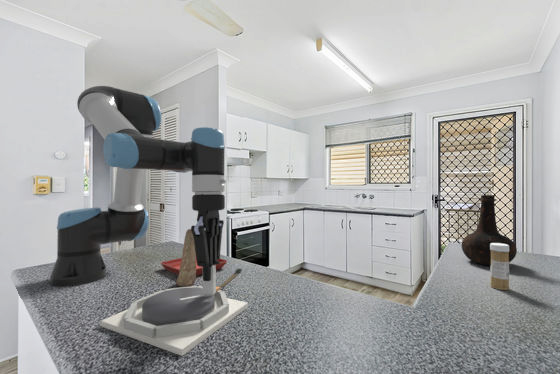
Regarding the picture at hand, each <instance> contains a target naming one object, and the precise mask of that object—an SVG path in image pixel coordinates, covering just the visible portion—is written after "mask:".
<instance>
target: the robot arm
mask: <svg viewBox="0 0 560 374" xmlns="http://www.w3.org/2000/svg"><path fill="white" fill-rule="evenodd" d="M76 105H77V109H78V112H79V113H80V114H81V116H82V118H83V119H84V120H85V121H87V122H88V123H90V124H92V125H93V126H94V128H95V130H97V132H98V133H99V134H100V136H101V137H102V138H103V140H104V141H103V147H102V152H103V157H104V162H105V163H106V165H107V166H109V167H112V168H116V173H115V174H116V175H115V183H114V184H115V185H114V195H113V201H111V202H110V203H109V204H108V205H107V210H102V208H101V207H86V208H79V209H73V210H67V211H64V212H61V213H60V214H59V216H58V217H57V224H56V225H57V226H56V229H57V247H56V248H57V253H56V254H57V257H56V260H55V263H54V266H53V268H52V271H51V273H50V275H49V284H50V285H52V286H54V287H55V286H56V287H67V286H76V285H83V284H87V283H91V282H95V281H98V280H100V279H103V278H104V277H106V276H107V266H106V264H105V261H104V259H103V256H102V254H101V246H102V245H106V244H113V243H121V242H132V241H134V240H139V239H141V238H143V237H144V236H145V235H146V233H147V231H148V229H149V225H150V223H149V222H150V219H149V212H148V211H147V209H145V206H144V205H143V204H142V203H141V199H142V192H143V191H142V189H143V179H144V173H145V170H153V171H154V170H155V171H167V172H168V171H170V172H174V173H183V174H184V173H189V172H191V175H192V178H191V191H192V193H194V195H192V197H191V208H192V211H195V212H197V216H196V217H197V218H196V225H191V228H190V229H191V231H192V234H193V237H194V244H195V252H196V260H197V265H198V266H201V267H203V274H202V286H203V294H215V293H216V286H217V281H216V280H217V276H216V275H217V272H216V271H217V270H216V265H215V264H219V263H220V261H217V259H218V260H219V259H221V248H222V247H221V246H222V237H223V227H224V222H225V221H224V220H221V219H220V212H219V211H222V210H225V208H226V205H225V204H226V203H225V202H226V201H225V200H226V198H225V194H223V193H224V192H225V184H227V179H225V148H226V146H225V138H224V137H225V136H224V132H223V131H222V130H220V129H219V128H215V127H205V126H204V127H195V128H193V130H192V132H191V137H190V140H191V141H186V142H181V141H174V140H167V139H160V138H154V137H153V134H154V133H153V132H155V131H158V130H159V129H160V127H161V124H162V111H161V107H160V106H159V103H158V101H157V100H156V99H155V98H153V97H151V96H148V95H144V94H141V93H137V92H132V91H128V90H124V89H120V88H116V87H113V86H109V85H108V86H107V85H96V86H92V87H89V88H86V89H85V90H83V91H82V92H81V93H80V95H79V96H78V98H77V101H76Z"/></svg>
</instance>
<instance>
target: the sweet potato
mask: <svg viewBox="0 0 560 374" xmlns="http://www.w3.org/2000/svg"><path fill="white" fill-rule="evenodd" d="M183 240H184V241H183V248H182V255H181V258H182V259H181V265H180V270H179V275H177V276H178V277H177V279H176V282H175V284H176V285H177V286H178V287H179V288H181V287H190V286H194V284H195V282H196V279H197V275H196V252H195V244H194V237H193V234H192V231H191V228H189V229H187V230H186V232H185V236H184V239H183Z"/></svg>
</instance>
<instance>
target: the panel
mask: <svg viewBox="0 0 560 374" xmlns="http://www.w3.org/2000/svg"><path fill="white" fill-rule="evenodd" d="M179 288H202V289H203V285H198V286H197V285H191V286H187V287H186V286H184V287H183V286H181V287H173V288H166V289H161V290H159V291H157V292H156V291H155V292H154V293H153V292H152V293H151V294H148V295H146V296H144V297H141V298H139V299H136V300H134V301H133V302H131V303H130V305H129V307H128V309H126V310H123V311H121V312H119V313H116V314H113V315H112V316H109V317H106V318H104V319H102V320H100V327H102V328H104V329H106V330H107V329H108V330H111V331H113V332H115V333H119V334H120V335H124V336H126V337H129V338H132V339H134V340H138V341H140V342H143V343H144V344H145V343H146V344H148V345H151V346H153V347H157V348H159V349H162V350H164V351H168V352H170V353H173V354H176V355H178V356H182V357H183V356H185V354H187V353H189V352H190V351H191V350H192V349H194V348H195V347H197V346H198V345H199V344H201V343H202V342H203V341H205V340H206V339H208V338H209V337H210V336H211V335H213V334H214V333H215V332H217V331H218V330H220V329H221V328H223V327H224V326H225V325H226V324H228V323H229V322H231V321H232V320H233V319H235V318H236V317H237V316H239V315H240V314H241V313H242V312H244V311H245V310H247V309H248V308H249V302H246V301H242V300H237V299H234V298H227V295H226V291H224V290H223V289H222V290H220V289H221V287H219V286H217V285H216V293H215V294H214V295H215V309H214V311H213V312H211V313H209V314H208V315H206V316H205V317H203V318H201V319H200V320H194V321H187V322H181V323H174V324H168V325H161V326H155V325H152V324H149V323H146V322H144V321H143V320H142V305H143V303H144V302H145V301H146V300H147V299H148V298H150V297H152V296H154V295H156V294H158V293H161V292H164V291H168V290H173V289H179Z"/></svg>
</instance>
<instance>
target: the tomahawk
mask: <svg viewBox="0 0 560 374" xmlns="http://www.w3.org/2000/svg"><path fill="white" fill-rule="evenodd" d="M242 271H243V270H242V268H237V269H236V270H235V272H233V274H231V275H230V276H229V277H228V278H227V279H225V280H224V281H223V282H222V284H220V285H219V286H218V287H221V289H220V290H222V291H223V292H226V291H227V290H226V289H225V286H227V285H228V284H229V283H230V282H231V281H233V280H234V279H235V278H236V277H237V276H238V275H239V274H240V272H242Z"/></svg>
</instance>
